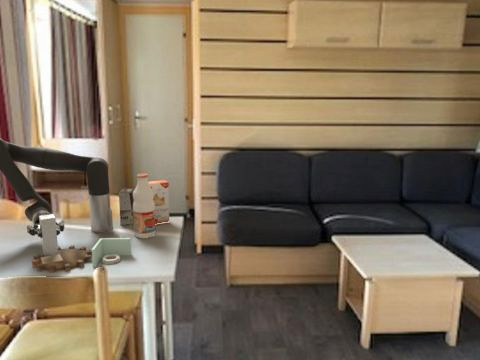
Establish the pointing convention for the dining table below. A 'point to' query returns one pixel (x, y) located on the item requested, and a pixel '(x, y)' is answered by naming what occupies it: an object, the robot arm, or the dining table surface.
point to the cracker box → (161, 200)
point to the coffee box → (126, 206)
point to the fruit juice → (143, 208)
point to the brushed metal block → (48, 234)
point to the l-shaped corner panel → (110, 250)
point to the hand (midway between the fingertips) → (49, 234)
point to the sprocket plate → (62, 259)
